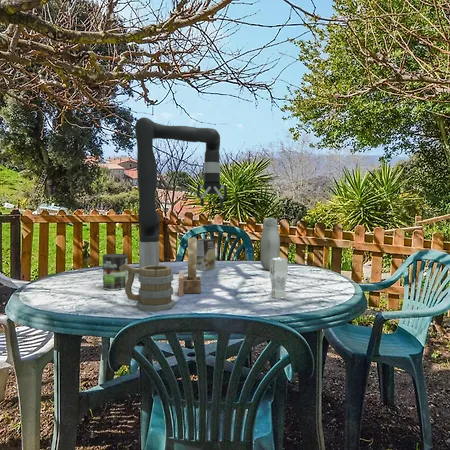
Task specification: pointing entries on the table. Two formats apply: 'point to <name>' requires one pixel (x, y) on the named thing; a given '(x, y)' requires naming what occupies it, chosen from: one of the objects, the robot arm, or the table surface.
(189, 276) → the dowel
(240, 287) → the table surface
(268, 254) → the grey water bottle
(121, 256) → the coffee can
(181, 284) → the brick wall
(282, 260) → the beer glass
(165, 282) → the tankard
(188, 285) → the cradle
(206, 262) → the coffee box
